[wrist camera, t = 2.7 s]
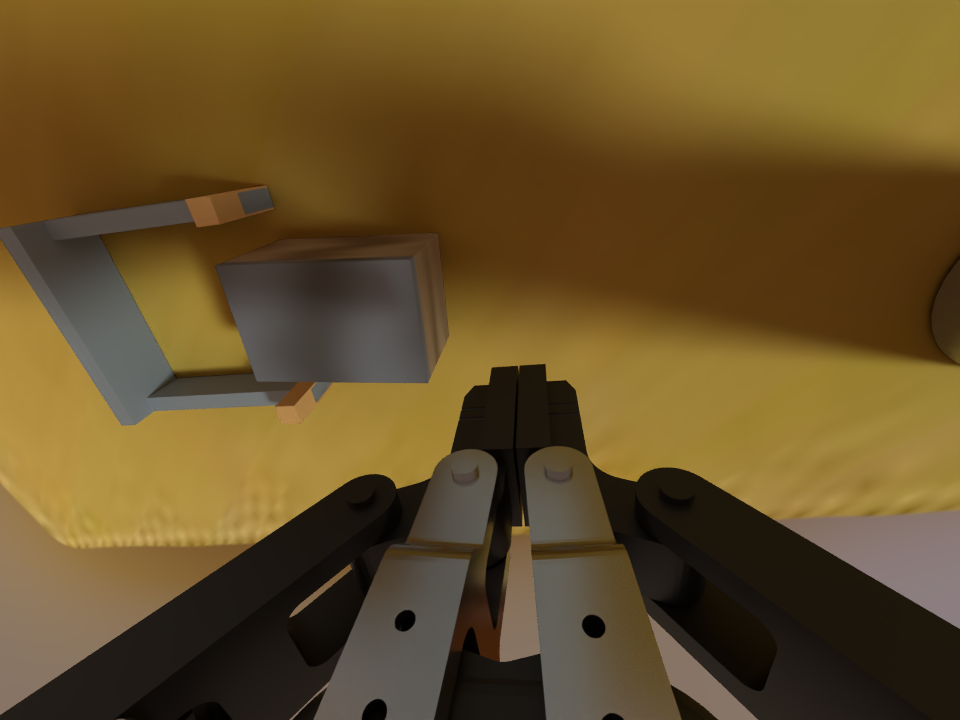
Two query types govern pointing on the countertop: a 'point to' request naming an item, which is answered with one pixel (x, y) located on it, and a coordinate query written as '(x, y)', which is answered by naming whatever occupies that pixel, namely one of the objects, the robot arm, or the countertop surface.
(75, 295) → the bay
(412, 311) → the grey block
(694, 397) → the countertop surface
